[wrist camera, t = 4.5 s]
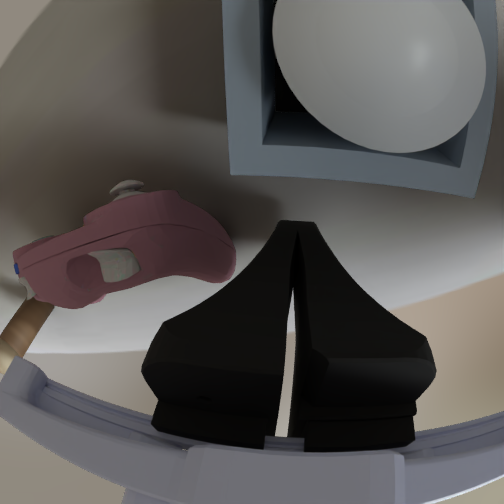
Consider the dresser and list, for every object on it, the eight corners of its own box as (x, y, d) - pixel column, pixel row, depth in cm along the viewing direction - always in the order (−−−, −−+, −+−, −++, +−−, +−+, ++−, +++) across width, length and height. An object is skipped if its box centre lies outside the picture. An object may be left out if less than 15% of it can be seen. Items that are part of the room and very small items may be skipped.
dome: (418, 5, 5) (496, -16, 2) (413, 126, 7) (483, 178, 4) (279, -15, 5) (265, -74, 2) (281, 111, 8) (271, 150, 4)
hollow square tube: (422, -3, 5) (491, -25, 2) (415, 144, 9) (474, 198, 5) (251, -24, 6) (220, -76, 3) (255, 129, 10) (230, 175, 6)
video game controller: (225, 172, 13) (119, 154, 6) (250, 270, 13) (169, 341, 7) (83, 226, 16) (-13, 245, 9) (102, 297, 16) (13, 339, 10)
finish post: (46, 288, 18) (-5, 364, 12) (61, 313, 19) (17, 387, 13) (26, 283, 18) (-22, 352, 12) (40, 307, 20) (-2, 375, 14)
